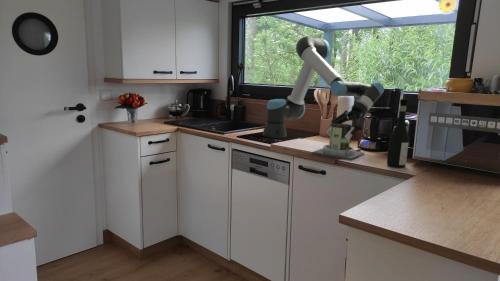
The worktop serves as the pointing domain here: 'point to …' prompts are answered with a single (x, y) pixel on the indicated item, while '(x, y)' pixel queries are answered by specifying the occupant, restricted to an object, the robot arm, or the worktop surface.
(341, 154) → the dark grey flat piece
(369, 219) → the worktop surface
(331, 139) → the coffee can
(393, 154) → the wine bottle
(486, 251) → the worktop surface
